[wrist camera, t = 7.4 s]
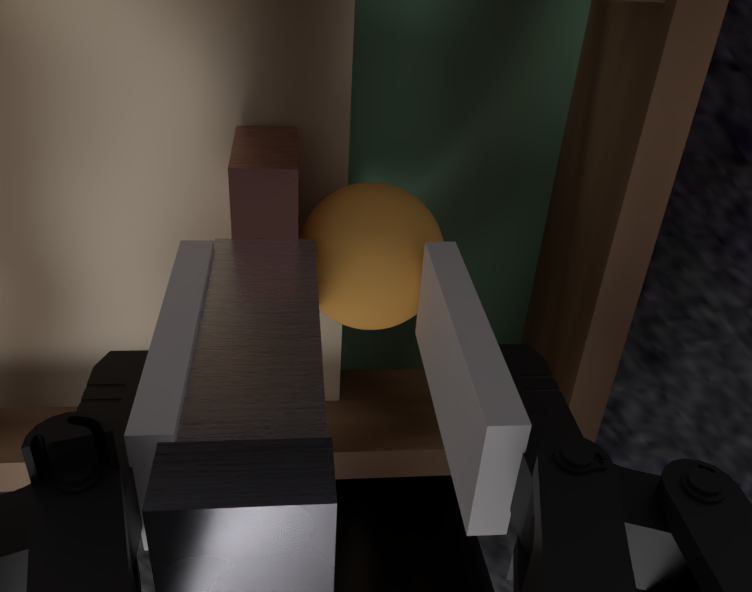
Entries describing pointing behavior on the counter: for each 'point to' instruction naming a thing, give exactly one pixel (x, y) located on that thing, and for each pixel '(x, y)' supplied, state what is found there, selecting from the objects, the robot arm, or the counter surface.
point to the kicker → (251, 404)
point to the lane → (339, 178)
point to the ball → (370, 253)
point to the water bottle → (404, 538)
